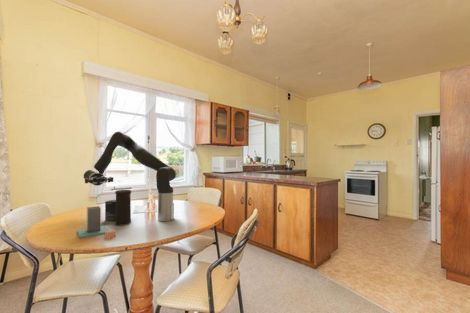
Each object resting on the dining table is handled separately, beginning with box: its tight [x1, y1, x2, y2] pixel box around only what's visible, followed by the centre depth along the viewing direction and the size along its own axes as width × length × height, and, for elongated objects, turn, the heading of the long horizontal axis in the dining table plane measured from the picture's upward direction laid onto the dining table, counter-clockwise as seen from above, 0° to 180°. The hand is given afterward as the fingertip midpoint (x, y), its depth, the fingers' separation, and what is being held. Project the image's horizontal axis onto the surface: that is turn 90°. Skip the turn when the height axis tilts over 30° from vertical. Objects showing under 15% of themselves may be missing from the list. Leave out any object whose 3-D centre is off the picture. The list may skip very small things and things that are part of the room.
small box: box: [104, 199, 116, 222], centre depth 144 cm, size 13×7×12 cm, turn 84°
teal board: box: [77, 224, 109, 239], centre depth 120 cm, size 13×13×1 cm
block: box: [104, 229, 116, 240], centre depth 112 cm, size 3×3×3 cm
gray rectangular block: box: [86, 205, 102, 233], centre depth 120 cm, size 6×6×12 cm
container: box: [114, 189, 132, 226], centre depth 136 cm, size 9×9×20 cm
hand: (101, 181), depth 128 cm, fingers open, 8 cm apart
